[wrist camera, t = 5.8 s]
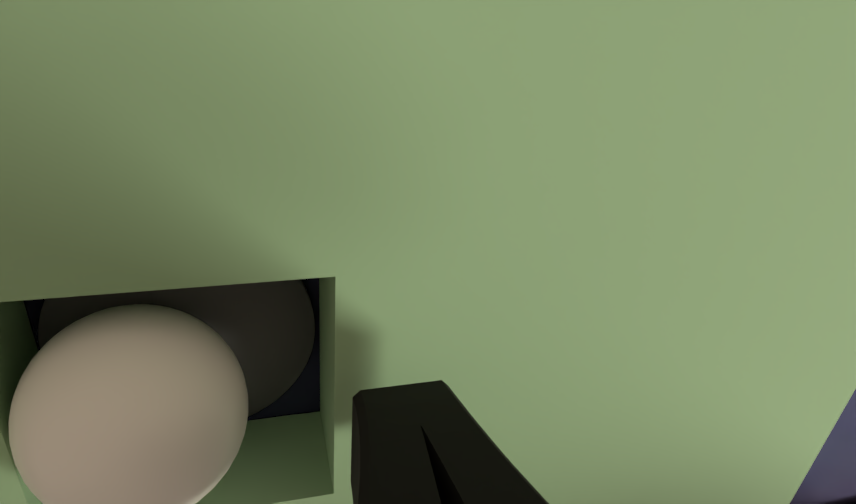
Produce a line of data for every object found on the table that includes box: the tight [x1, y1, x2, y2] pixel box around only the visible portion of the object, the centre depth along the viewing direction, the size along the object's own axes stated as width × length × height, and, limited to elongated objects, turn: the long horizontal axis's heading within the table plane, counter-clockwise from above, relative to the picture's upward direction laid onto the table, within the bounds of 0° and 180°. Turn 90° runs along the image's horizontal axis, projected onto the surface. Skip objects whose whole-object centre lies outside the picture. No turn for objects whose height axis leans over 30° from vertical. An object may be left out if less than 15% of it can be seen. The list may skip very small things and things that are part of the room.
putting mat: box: [0, 0, 856, 504], centre depth 12 cm, size 13×18×2 cm
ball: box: [9, 304, 248, 504], centre depth 10 cm, size 3×3×3 cm
